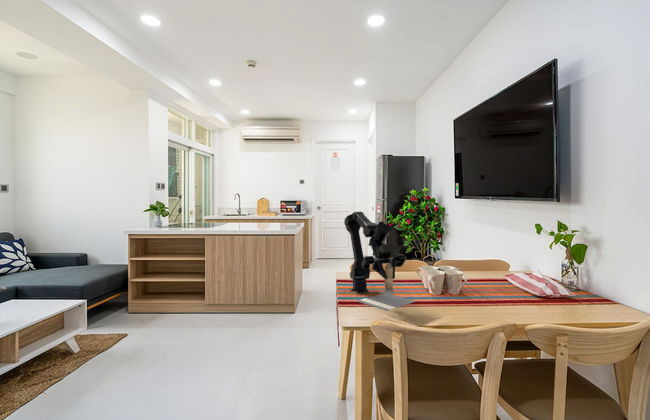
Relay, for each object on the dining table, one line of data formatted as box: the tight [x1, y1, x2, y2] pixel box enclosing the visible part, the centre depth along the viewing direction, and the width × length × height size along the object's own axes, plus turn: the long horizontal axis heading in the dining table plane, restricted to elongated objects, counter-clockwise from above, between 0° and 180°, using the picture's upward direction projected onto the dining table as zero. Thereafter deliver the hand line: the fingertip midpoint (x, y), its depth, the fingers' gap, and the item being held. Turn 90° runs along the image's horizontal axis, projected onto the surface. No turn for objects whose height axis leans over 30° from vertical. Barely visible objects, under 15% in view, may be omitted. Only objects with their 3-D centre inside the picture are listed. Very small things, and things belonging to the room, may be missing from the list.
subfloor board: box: [356, 293, 417, 312], centre depth 145 cm, size 17×20×1 cm
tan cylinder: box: [383, 264, 394, 295], centre depth 136 cm, size 4×4×12 cm
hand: (390, 278), depth 135 cm, fingers closed on tan cylinder, 3 cm apart
